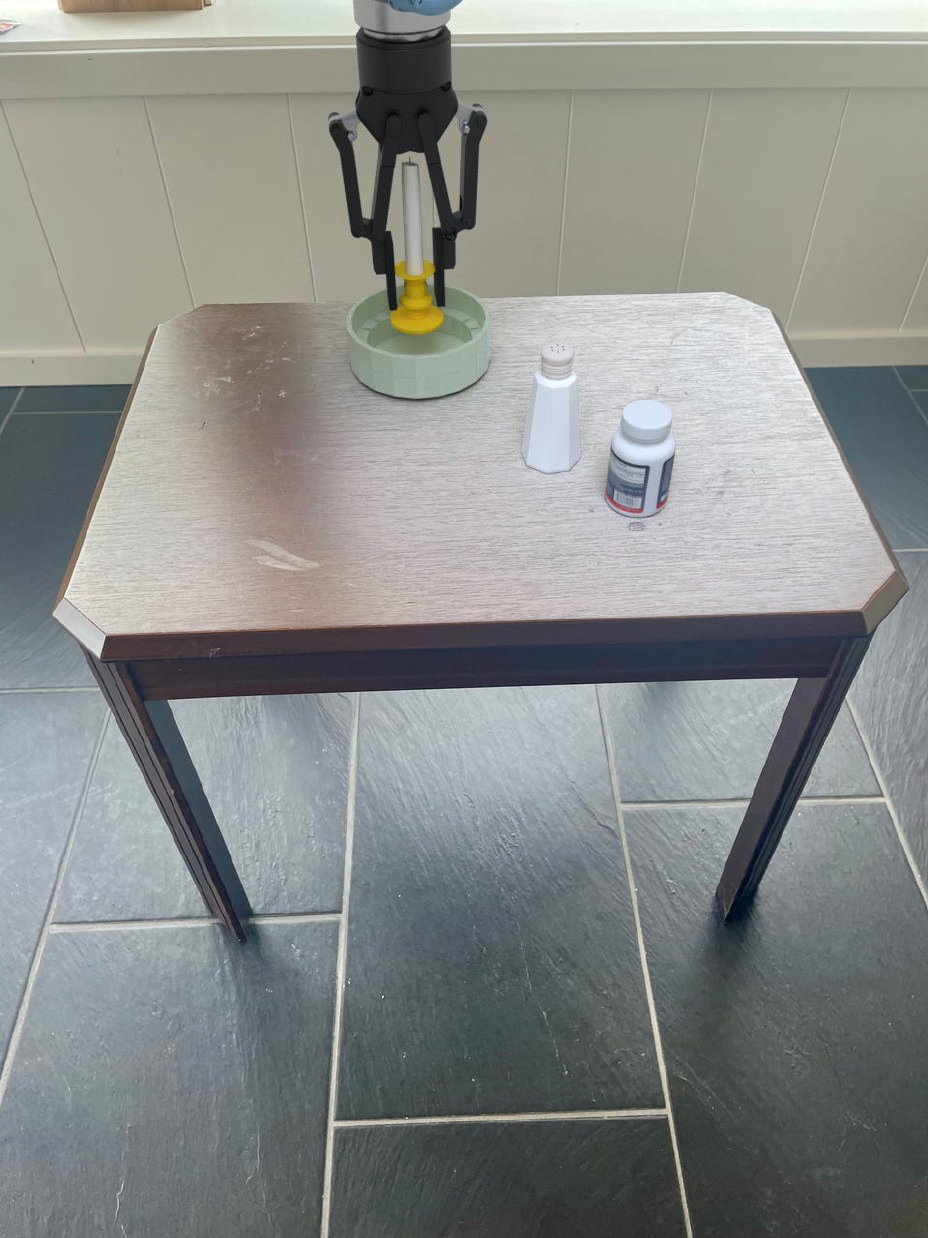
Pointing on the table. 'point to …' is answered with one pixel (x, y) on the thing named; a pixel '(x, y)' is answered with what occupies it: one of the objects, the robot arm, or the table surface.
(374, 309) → the bowl
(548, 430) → the pepper shaker
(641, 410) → the pill bottle
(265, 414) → the table surface
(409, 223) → the candle
